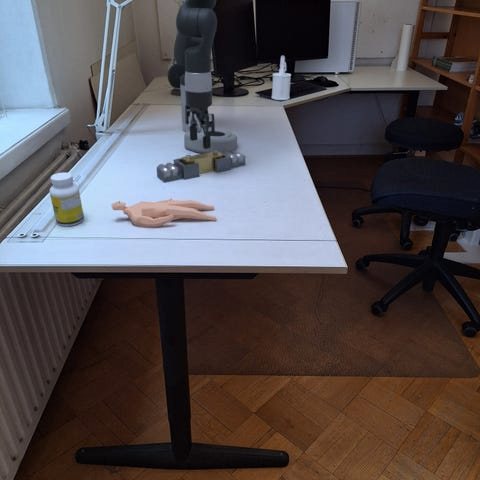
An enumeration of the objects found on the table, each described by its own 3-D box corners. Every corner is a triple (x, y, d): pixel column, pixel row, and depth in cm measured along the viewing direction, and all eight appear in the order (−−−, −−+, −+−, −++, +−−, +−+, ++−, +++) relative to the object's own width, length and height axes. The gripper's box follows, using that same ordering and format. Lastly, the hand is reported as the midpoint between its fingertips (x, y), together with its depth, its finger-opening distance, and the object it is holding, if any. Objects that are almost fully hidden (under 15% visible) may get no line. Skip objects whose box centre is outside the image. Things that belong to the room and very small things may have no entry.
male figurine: (218, 212, 105) (108, 210, 100) (216, 231, 107) (109, 230, 103) (213, 194, 114) (113, 191, 110) (212, 211, 116) (114, 209, 112)
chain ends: (155, 175, 133) (154, 163, 131) (235, 159, 146) (235, 147, 144) (165, 183, 127) (164, 170, 125) (247, 166, 140) (247, 154, 138)
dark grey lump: (169, 91, 236) (167, 61, 229) (193, 90, 237) (192, 61, 230) (168, 96, 225) (166, 65, 217) (194, 96, 226) (193, 65, 219)
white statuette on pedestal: (272, 95, 229) (274, 54, 219) (290, 96, 228) (292, 54, 218) (270, 100, 220) (272, 57, 210) (289, 101, 219) (292, 57, 209)
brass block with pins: (182, 173, 135) (181, 154, 132) (217, 166, 141) (217, 148, 138) (187, 176, 133) (186, 158, 130) (222, 170, 138) (222, 152, 135)
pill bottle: (60, 215, 110) (50, 171, 104) (87, 214, 110) (79, 170, 104) (53, 227, 104) (42, 181, 98) (81, 227, 105) (72, 181, 99)
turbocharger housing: (245, 151, 157) (216, 142, 166) (246, 133, 154) (216, 124, 163) (211, 159, 146) (181, 149, 155) (211, 140, 143) (181, 130, 152)
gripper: (222, 91, 121) (222, 149, 129) (199, 82, 131) (200, 135, 139) (198, 94, 117) (199, 153, 125) (175, 84, 127) (178, 139, 136)
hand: (200, 144), depth 132 cm, fingers open, 8 cm apart
